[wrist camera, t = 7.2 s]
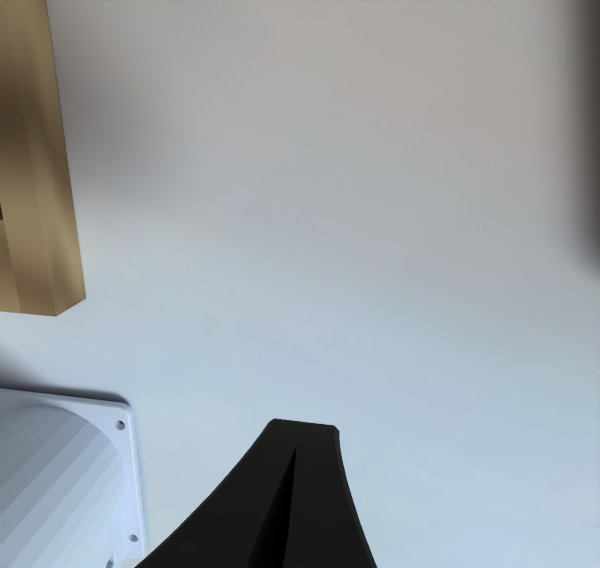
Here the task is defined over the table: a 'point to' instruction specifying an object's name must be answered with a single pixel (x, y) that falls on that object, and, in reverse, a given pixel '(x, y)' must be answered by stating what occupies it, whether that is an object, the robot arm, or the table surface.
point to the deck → (34, 172)
